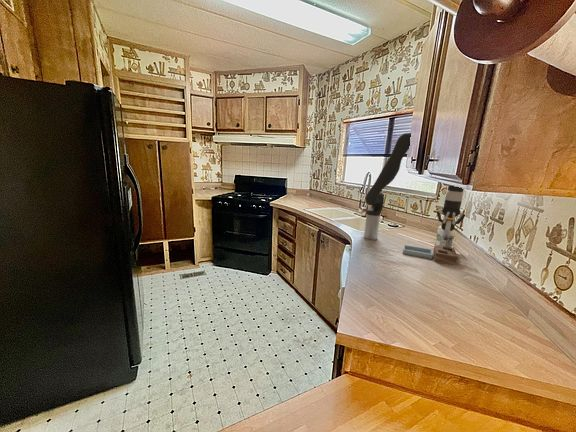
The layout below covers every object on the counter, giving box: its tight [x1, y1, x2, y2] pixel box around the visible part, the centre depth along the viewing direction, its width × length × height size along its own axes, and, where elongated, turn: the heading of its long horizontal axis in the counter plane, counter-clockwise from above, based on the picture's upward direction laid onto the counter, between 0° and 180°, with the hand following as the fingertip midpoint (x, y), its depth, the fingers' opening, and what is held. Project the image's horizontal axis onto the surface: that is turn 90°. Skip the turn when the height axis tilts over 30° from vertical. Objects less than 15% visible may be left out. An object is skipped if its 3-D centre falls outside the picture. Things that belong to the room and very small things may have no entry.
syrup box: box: [434, 225, 453, 246], centre depth 158 cm, size 6×6×14 cm
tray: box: [402, 244, 434, 260], centre depth 149 cm, size 10×15×2 cm
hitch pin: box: [442, 217, 453, 241], centre depth 136 cm, size 4×4×13 cm
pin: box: [444, 234, 455, 250], centre depth 144 cm, size 4×4×13 cm
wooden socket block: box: [432, 244, 458, 266], centre depth 142 cm, size 16×10×5 cm, turn 153°
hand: (447, 229), depth 136 cm, fingers closed on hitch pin, 3 cm apart
